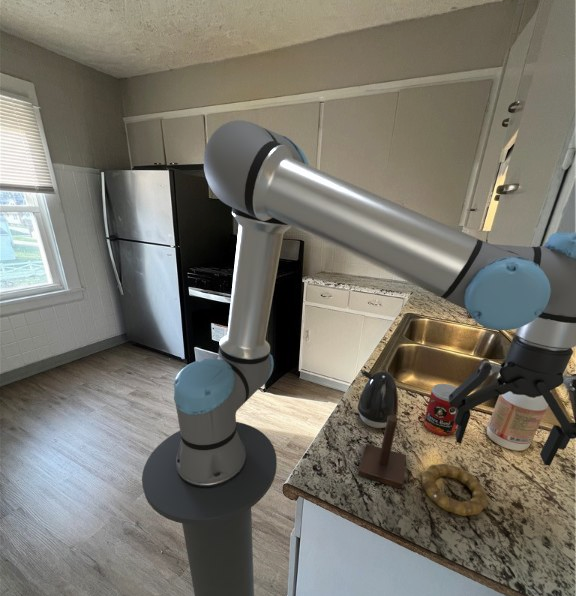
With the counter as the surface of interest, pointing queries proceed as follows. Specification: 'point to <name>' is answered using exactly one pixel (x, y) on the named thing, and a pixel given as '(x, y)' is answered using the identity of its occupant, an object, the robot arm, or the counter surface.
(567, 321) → the robot arm
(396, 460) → the post
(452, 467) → the ring
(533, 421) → the fruit juice
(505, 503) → the counter surface
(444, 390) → the canned food
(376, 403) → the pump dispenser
